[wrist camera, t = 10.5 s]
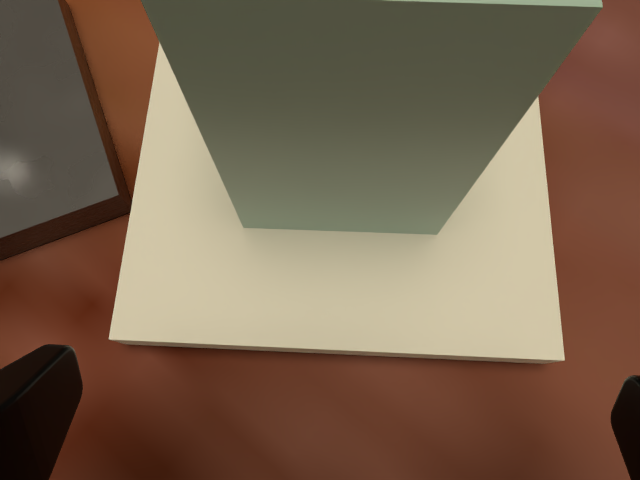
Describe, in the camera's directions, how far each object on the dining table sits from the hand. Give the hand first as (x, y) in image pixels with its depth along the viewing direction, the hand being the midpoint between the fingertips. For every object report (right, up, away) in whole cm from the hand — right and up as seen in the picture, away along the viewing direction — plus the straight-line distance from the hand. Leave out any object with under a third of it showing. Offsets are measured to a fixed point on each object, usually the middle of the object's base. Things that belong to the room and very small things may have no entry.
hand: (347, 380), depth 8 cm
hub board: (0, +5, +11) cm, 12 cm away
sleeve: (0, +6, +9) cm, 11 cm away
